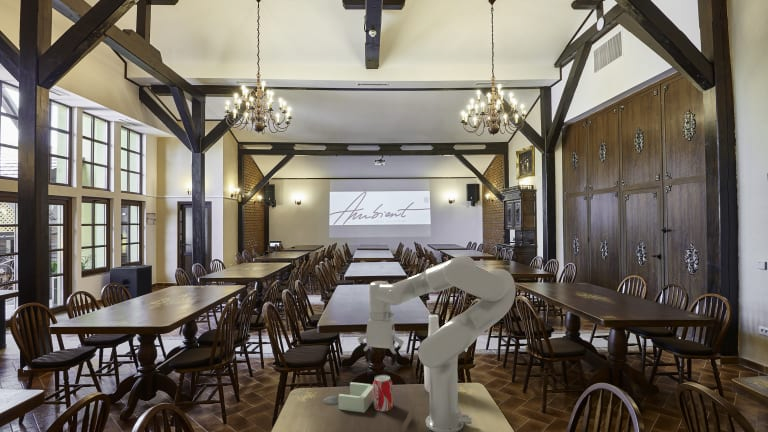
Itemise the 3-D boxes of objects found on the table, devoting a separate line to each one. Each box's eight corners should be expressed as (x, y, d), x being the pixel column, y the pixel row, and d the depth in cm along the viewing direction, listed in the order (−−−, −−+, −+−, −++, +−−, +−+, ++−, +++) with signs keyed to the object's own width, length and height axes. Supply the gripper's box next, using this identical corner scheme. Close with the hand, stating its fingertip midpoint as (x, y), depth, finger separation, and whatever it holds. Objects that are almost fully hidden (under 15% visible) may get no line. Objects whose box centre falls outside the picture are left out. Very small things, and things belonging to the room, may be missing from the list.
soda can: (391, 416, 145) (390, 382, 145) (371, 414, 147) (370, 381, 147) (394, 406, 152) (393, 374, 152) (376, 405, 154) (375, 373, 153)
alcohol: (446, 385, 170) (443, 312, 169) (447, 394, 161) (445, 318, 161) (424, 385, 170) (422, 313, 170) (424, 394, 162) (422, 318, 162)
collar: (375, 397, 157) (375, 384, 157) (364, 412, 145) (364, 398, 145) (351, 395, 160) (351, 382, 160) (338, 409, 148) (338, 395, 148)
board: (367, 400, 158) (367, 396, 158) (355, 415, 146) (355, 411, 146) (329, 396, 163) (329, 392, 163) (315, 410, 151) (315, 406, 151)
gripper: (405, 314, 150) (406, 361, 150) (361, 311, 156) (362, 356, 156) (400, 319, 143) (400, 368, 143) (354, 316, 148) (354, 363, 149)
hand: (380, 362), depth 149 cm, fingers open, 9 cm apart
